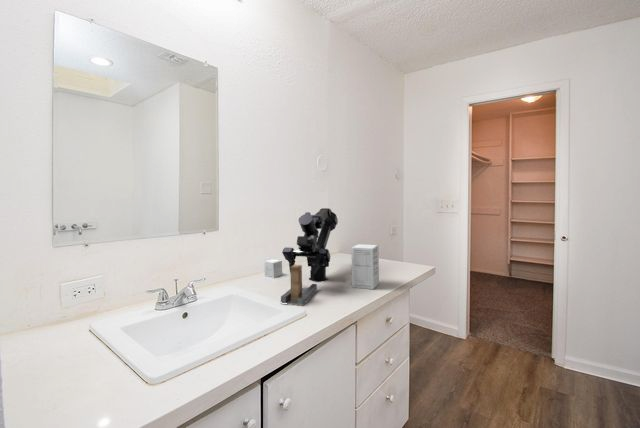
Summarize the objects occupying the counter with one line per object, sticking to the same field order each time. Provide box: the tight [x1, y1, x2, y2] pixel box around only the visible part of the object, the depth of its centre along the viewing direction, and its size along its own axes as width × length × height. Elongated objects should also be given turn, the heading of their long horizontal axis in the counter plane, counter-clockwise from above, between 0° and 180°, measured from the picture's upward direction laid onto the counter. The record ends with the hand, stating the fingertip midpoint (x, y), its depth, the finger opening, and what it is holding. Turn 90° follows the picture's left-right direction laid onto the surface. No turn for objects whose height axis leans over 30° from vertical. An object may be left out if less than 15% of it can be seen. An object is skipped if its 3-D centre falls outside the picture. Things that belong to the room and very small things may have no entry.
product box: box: [264, 258, 283, 279], centre depth 150 cm, size 6×6×7 cm
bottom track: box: [280, 283, 318, 306], centre depth 118 cm, size 18×8×3 cm, turn 165°
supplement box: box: [351, 243, 380, 290], centre depth 131 cm, size 10×9×17 cm
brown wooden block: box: [289, 264, 303, 301], centre depth 114 cm, size 4×3×12 cm, turn 165°
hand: (301, 273), depth 120 cm, fingers open, 9 cm apart
